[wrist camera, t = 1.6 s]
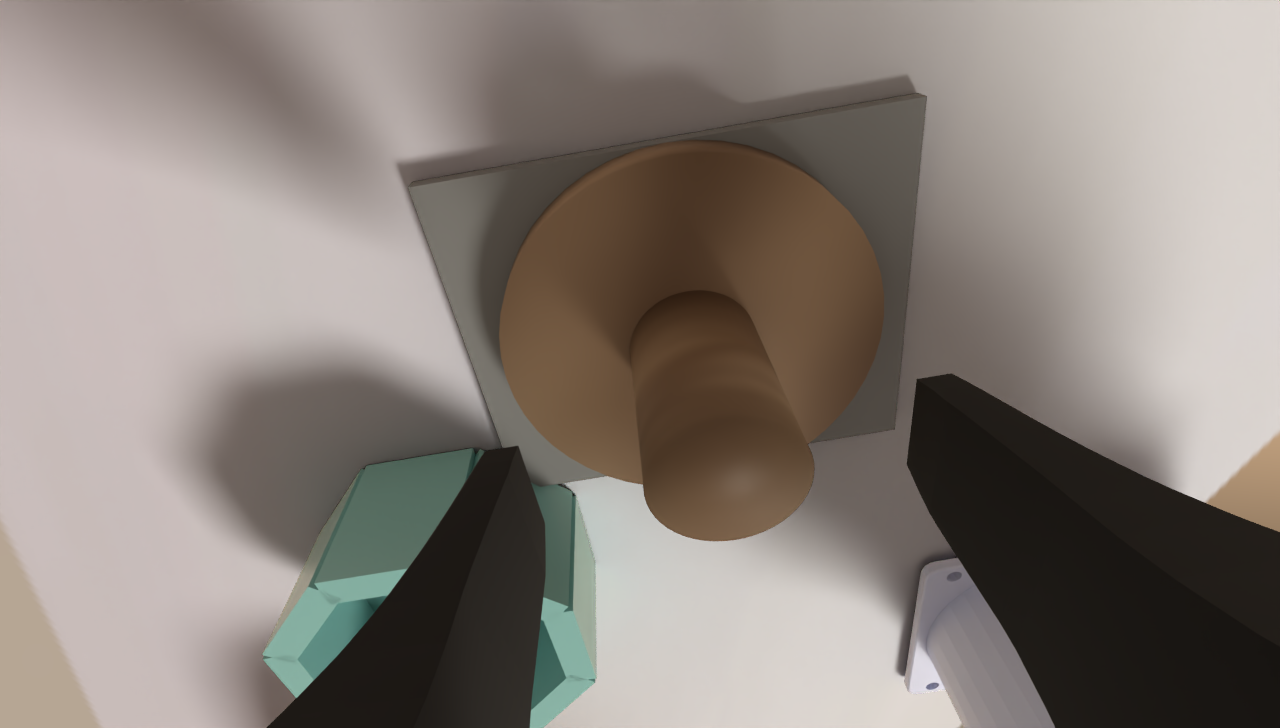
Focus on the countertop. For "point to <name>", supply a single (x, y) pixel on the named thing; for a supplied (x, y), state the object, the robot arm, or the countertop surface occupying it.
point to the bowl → (390, 541)
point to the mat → (519, 193)
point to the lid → (693, 329)
